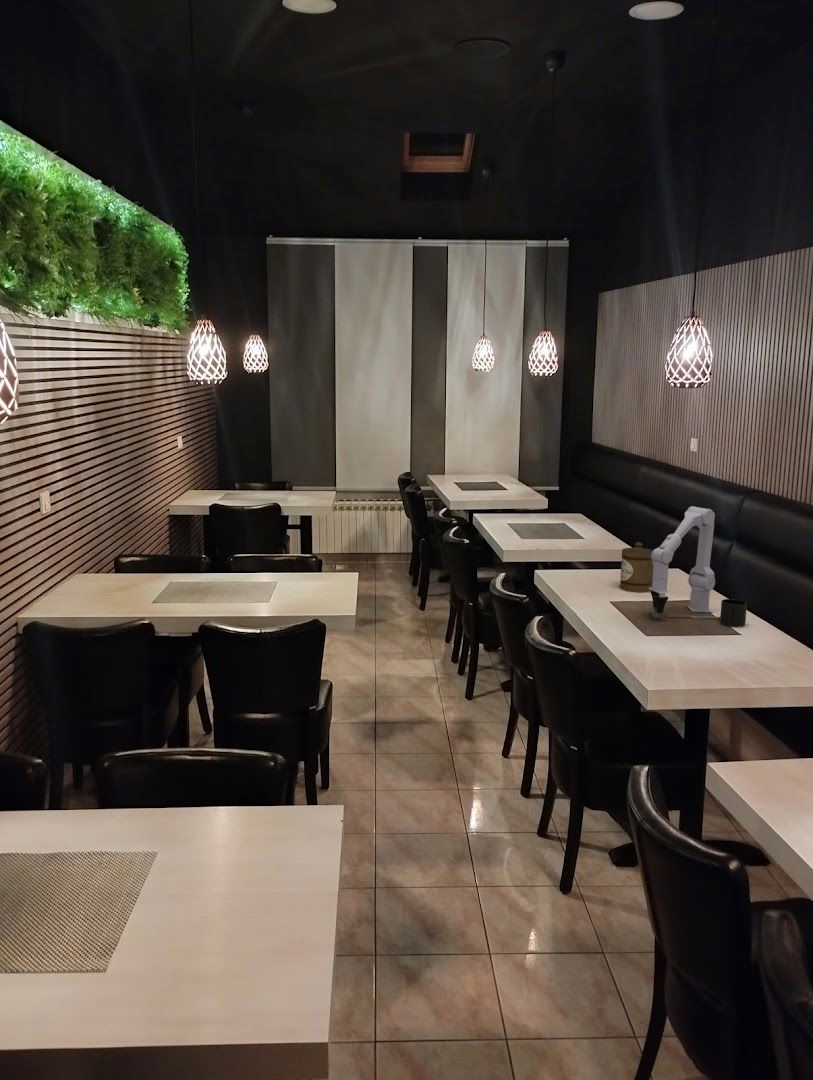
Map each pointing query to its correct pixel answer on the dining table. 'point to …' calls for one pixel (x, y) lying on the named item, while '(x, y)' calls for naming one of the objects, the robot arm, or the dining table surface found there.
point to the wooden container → (636, 569)
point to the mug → (733, 612)
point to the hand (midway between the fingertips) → (657, 610)
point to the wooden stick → (694, 617)
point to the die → (657, 615)
